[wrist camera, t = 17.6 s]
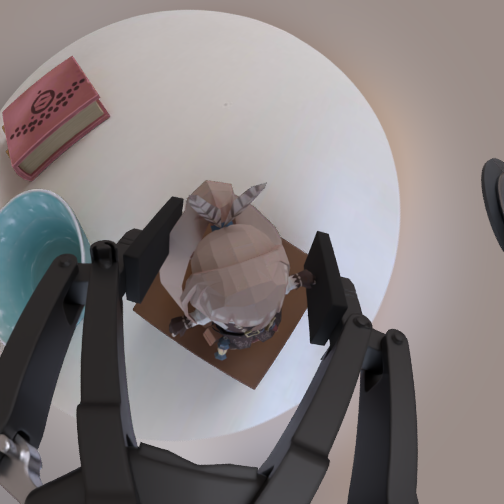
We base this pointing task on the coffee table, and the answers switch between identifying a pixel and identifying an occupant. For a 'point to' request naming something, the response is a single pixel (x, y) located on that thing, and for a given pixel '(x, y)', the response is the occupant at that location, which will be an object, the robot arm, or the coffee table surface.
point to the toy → (228, 269)
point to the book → (50, 118)
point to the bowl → (33, 248)
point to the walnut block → (238, 361)
